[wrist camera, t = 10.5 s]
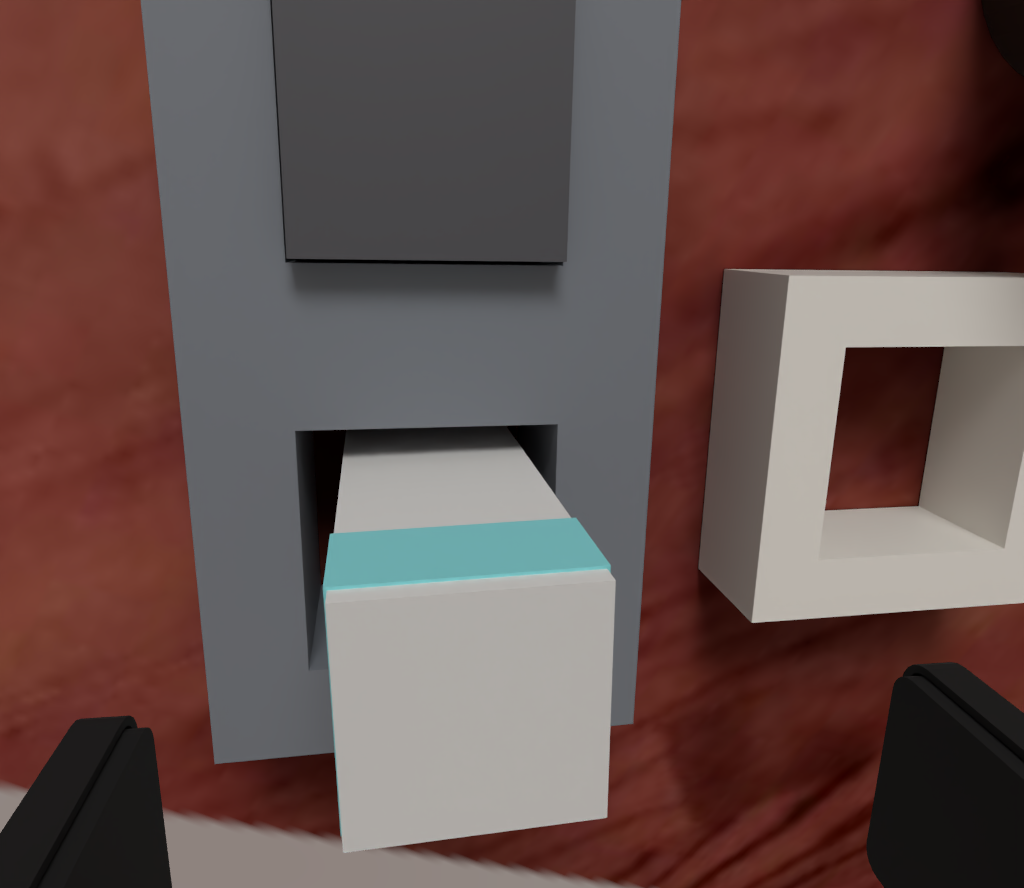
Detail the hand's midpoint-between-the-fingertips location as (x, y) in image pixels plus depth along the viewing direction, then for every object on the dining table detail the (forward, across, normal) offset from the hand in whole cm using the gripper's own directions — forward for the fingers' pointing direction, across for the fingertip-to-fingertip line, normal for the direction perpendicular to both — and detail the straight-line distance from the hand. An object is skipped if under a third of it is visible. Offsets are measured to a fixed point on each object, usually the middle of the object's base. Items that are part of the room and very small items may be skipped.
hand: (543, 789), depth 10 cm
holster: (+13, -12, -1) cm, 18 cm away
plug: (+13, +1, 0) cm, 13 cm away
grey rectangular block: (+13, +1, -4) cm, 13 cm away
